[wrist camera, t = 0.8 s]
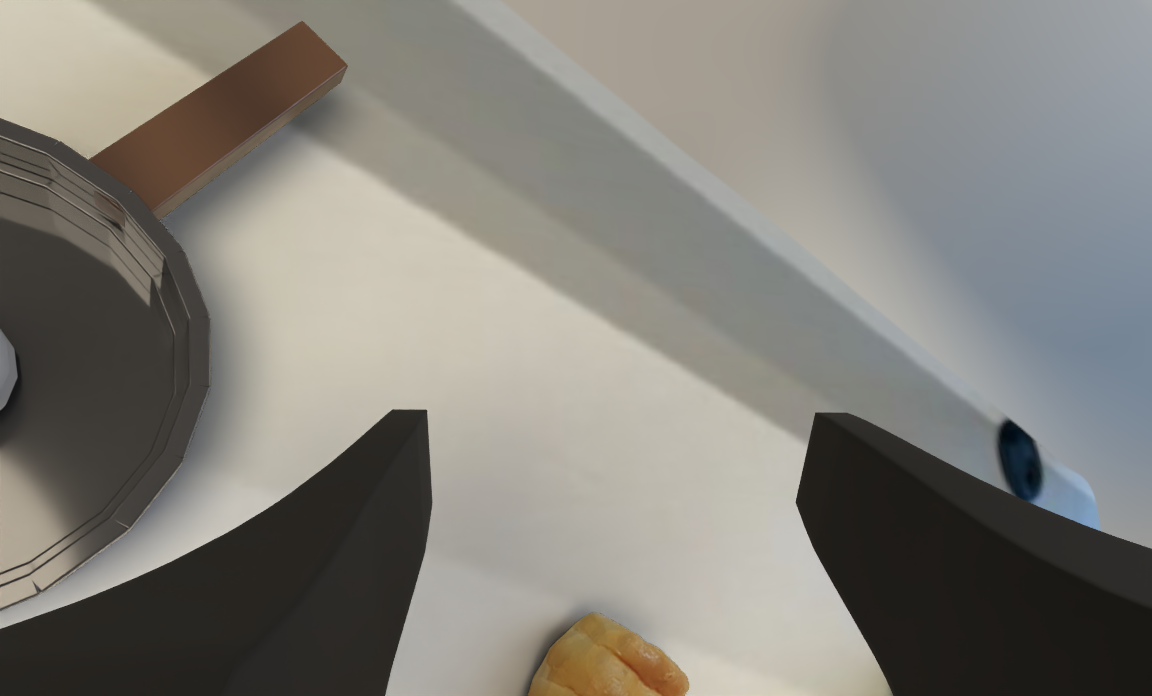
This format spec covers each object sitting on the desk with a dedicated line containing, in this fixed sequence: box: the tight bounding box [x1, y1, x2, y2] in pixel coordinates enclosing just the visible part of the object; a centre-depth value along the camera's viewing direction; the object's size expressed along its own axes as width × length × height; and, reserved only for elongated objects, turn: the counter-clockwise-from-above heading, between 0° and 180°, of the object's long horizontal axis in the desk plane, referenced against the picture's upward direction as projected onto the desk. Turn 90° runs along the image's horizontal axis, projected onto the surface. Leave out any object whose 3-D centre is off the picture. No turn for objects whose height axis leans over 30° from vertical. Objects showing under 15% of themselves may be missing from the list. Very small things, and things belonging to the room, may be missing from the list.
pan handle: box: [89, 21, 348, 228], centre depth 22 cm, size 10×2×1 cm, turn 146°
